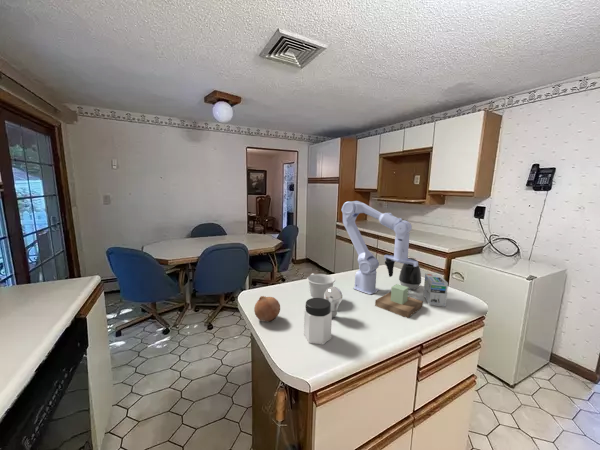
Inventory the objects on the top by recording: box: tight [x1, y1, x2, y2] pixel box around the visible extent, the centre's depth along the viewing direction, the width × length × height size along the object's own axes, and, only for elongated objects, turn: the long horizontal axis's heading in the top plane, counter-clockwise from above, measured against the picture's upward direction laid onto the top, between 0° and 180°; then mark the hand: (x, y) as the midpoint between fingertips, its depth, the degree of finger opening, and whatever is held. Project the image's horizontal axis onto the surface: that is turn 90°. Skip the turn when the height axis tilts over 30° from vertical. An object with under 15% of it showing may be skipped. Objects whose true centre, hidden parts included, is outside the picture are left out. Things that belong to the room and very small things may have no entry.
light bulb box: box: [423, 273, 449, 308], centre depth 115 cm, size 11×7×11 cm, turn 168°
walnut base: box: [374, 291, 424, 319], centre depth 109 cm, size 14×14×2 cm
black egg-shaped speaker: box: [398, 257, 422, 291], centre depth 129 cm, size 10×10×15 cm
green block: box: [390, 283, 410, 304], centre depth 109 cm, size 5×5×6 cm
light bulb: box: [324, 286, 343, 319], centre depth 98 cm, size 7×7×12 cm
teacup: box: [306, 273, 336, 299], centre depth 114 cm, size 12×15×10 cm
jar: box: [303, 297, 333, 345], centre depth 85 cm, size 9×8×12 cm
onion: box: [253, 295, 281, 323], centre depth 96 cm, size 10×9×10 cm
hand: (398, 278), depth 116 cm, fingers open, 7 cm apart
